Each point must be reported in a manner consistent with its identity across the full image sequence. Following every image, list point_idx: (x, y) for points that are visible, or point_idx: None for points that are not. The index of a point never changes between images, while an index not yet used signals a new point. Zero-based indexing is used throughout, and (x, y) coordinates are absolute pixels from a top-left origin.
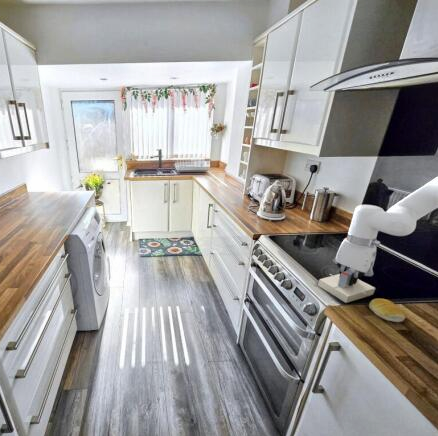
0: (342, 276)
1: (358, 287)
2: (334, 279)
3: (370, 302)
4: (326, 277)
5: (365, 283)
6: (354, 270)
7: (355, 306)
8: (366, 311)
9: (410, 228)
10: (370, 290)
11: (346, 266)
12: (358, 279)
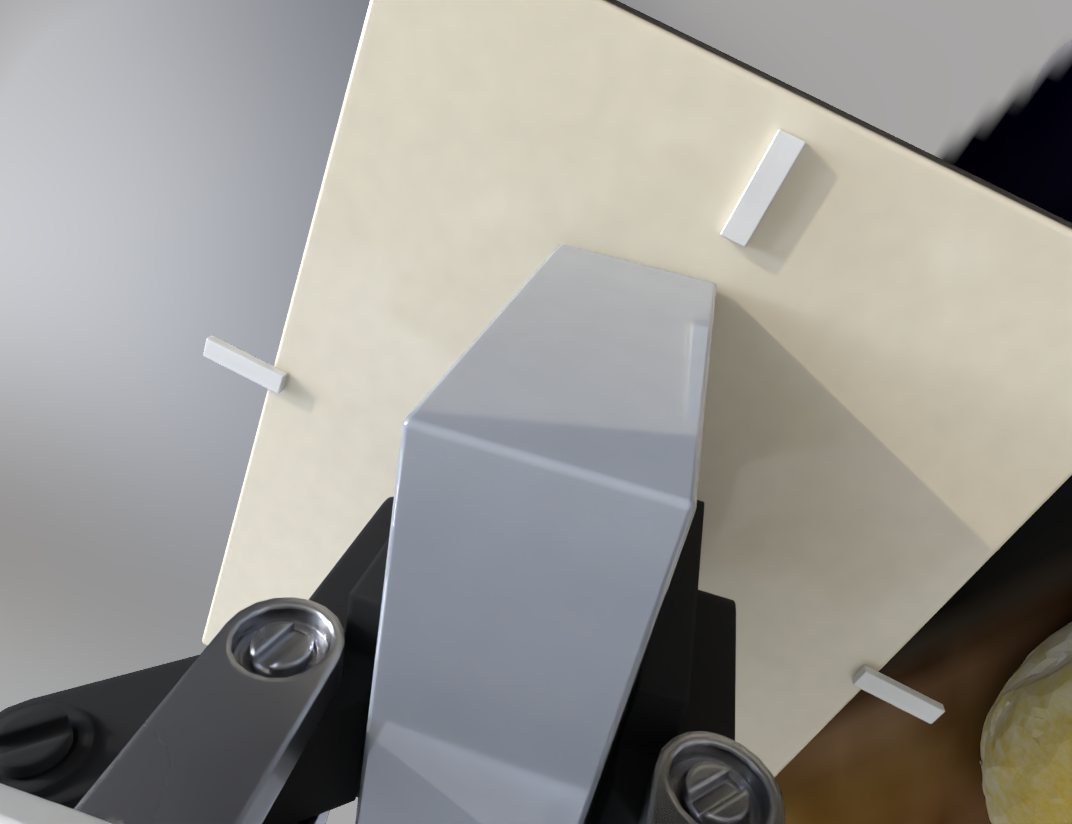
0: None
1: (799, 543)
2: (356, 506)
3: (1007, 780)
4: (236, 519)
5: (968, 226)
6: (548, 734)
7: (796, 774)
8: (934, 812)
9: None
10: (1063, 459)
11: (244, 797)
12: (779, 134)
